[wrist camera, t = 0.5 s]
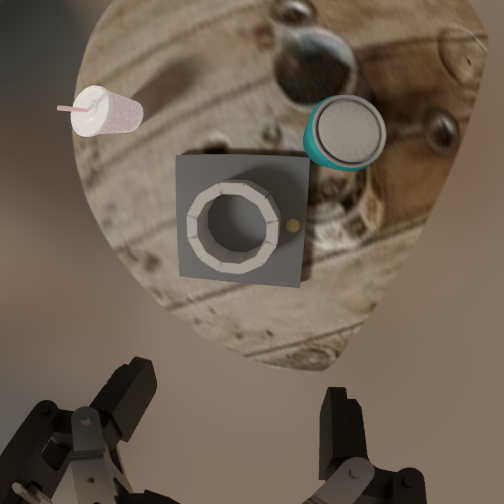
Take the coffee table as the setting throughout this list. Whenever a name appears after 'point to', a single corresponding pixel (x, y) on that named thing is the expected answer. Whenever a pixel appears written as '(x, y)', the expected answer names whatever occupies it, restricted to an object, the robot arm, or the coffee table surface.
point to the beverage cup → (103, 112)
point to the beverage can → (344, 133)
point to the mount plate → (242, 217)
